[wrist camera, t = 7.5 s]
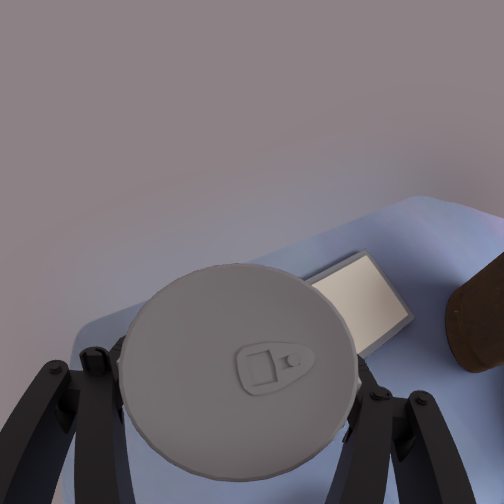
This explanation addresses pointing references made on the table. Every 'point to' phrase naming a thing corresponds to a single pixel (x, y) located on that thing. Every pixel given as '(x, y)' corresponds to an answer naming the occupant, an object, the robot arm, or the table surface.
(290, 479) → the table surface
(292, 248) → the table surface
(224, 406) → the canned food
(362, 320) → the breaker board
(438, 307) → the table surface
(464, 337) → the wooden container
